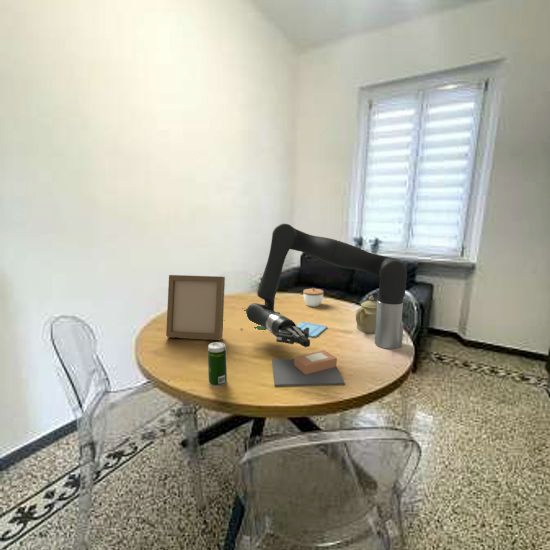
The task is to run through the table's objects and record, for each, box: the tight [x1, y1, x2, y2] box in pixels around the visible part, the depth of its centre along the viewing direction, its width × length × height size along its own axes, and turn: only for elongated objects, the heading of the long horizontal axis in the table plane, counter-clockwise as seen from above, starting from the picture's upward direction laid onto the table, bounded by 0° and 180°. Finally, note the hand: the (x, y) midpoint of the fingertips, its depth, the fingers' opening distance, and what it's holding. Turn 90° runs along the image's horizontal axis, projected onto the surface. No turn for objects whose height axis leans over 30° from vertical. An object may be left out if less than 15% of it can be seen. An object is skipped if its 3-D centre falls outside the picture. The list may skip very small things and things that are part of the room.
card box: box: [293, 349, 338, 375], centre depth 113 cm, size 3×7×12 cm
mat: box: [271, 358, 346, 387], centre depth 111 cm, size 21×17×1 cm
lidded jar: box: [302, 287, 325, 308], centre depth 182 cm, size 11×11×9 cm
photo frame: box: [165, 274, 226, 341], centre depth 140 cm, size 15×22×25 cm
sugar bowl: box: [355, 294, 377, 334], centre depth 146 cm, size 15×11×15 cm
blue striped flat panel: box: [296, 321, 328, 339], centre depth 147 cm, size 14×12×1 cm
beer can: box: [207, 341, 228, 388], centre depth 103 cm, size 5×5×12 cm
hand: (307, 343), depth 105 cm, fingers closed
